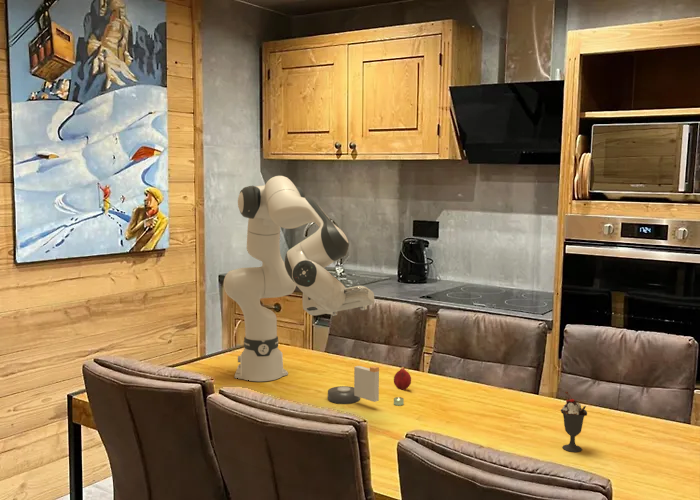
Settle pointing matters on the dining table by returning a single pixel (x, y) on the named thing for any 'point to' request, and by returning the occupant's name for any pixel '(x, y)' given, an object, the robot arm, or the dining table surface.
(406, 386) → the onion
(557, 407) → the dining table surface
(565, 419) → the sundae
